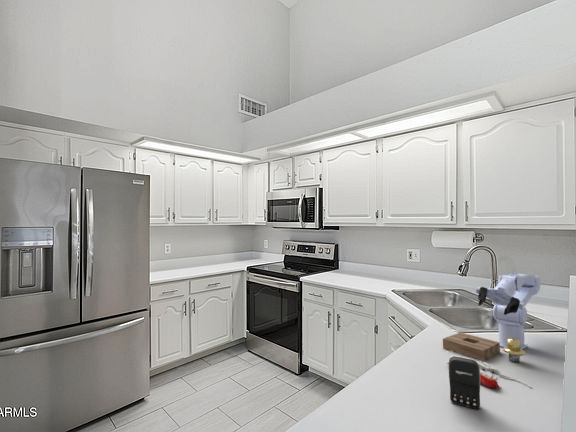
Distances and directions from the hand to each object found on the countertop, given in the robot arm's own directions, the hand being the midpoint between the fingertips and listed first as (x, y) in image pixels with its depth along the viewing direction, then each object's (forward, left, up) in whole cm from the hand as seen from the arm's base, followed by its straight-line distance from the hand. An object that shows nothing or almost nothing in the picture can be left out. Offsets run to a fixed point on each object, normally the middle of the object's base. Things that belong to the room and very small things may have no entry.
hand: (492, 307), depth 105 cm
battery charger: (+38, +7, -18) cm, 43 cm away
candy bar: (+20, +1, -19) cm, 27 cm away
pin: (-5, +4, -18) cm, 19 cm away
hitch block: (-3, -9, -18) cm, 20 cm away
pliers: (+13, +5, -19) cm, 23 cm away
